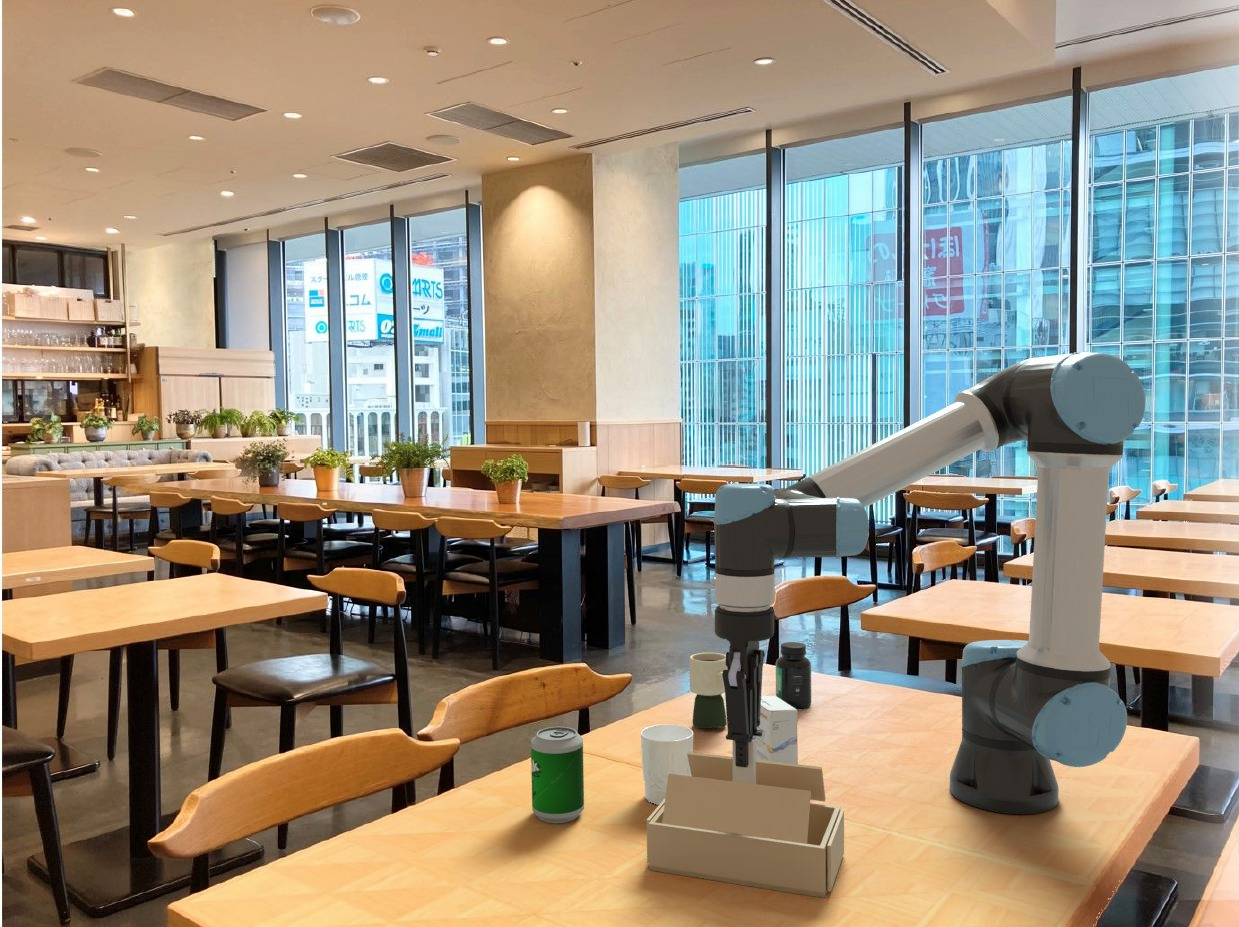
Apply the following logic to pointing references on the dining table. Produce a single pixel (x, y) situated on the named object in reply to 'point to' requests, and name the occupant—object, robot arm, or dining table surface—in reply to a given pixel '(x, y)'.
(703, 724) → the character mug
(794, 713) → the ink box
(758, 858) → the carton
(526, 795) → the dining table surface
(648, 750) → the white cup
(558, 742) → the soda can
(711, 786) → the flap near
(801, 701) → the supplement bottle
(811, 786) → the flap far
